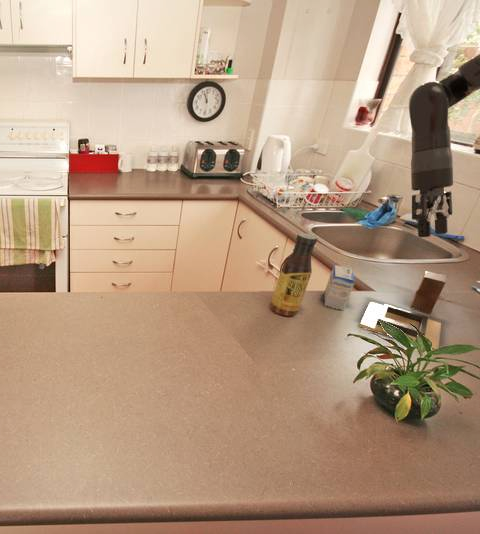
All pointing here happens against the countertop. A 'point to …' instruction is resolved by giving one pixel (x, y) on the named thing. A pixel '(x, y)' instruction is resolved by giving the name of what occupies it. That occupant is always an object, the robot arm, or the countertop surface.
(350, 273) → the medicine box
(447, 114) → the robot arm
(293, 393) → the countertop surface
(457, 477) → the countertop surface
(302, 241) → the sauce bottle
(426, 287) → the pad block
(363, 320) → the back plate
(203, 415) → the countertop surface
